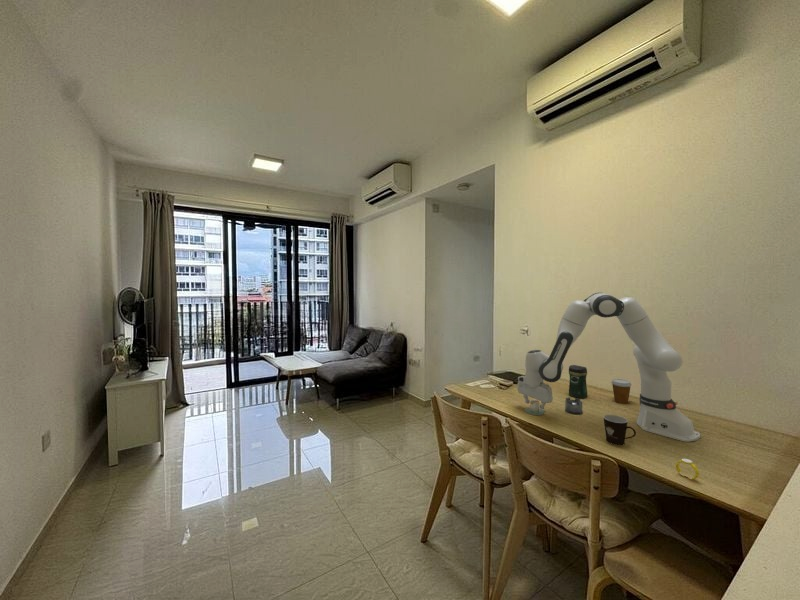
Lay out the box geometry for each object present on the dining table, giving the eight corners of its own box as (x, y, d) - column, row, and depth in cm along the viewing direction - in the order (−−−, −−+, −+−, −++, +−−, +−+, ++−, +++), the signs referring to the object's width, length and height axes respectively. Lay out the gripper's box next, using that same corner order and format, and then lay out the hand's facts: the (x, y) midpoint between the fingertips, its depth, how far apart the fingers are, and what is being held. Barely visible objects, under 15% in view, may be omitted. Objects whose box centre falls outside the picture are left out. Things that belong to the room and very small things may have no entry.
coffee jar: (589, 397, 190) (589, 366, 189) (582, 399, 186) (582, 368, 185) (573, 392, 198) (573, 363, 198) (566, 395, 194) (566, 365, 194)
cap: (534, 413, 167) (534, 403, 167) (528, 410, 171) (527, 401, 170) (541, 411, 169) (541, 402, 169) (534, 408, 173) (534, 399, 173)
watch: (675, 474, 112) (673, 457, 112) (679, 472, 113) (678, 455, 113) (696, 482, 107) (694, 464, 107) (700, 480, 108) (699, 462, 108)
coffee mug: (599, 437, 140) (599, 414, 140) (618, 436, 140) (618, 414, 139) (616, 450, 128) (616, 426, 128) (637, 450, 128) (637, 426, 128)
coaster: (548, 412, 168) (548, 412, 168) (535, 416, 163) (535, 415, 163) (533, 406, 177) (533, 406, 177) (520, 410, 172) (520, 409, 172)
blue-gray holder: (585, 412, 167) (585, 400, 167) (575, 415, 164) (575, 403, 163) (571, 407, 174) (571, 396, 174) (562, 410, 171) (561, 399, 171)
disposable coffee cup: (634, 402, 180) (634, 381, 180) (627, 406, 175) (627, 384, 174) (615, 397, 188) (615, 377, 188) (608, 401, 183) (608, 380, 182)
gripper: (555, 384, 161) (555, 411, 162) (523, 375, 180) (523, 399, 180) (546, 386, 159) (547, 413, 159) (515, 376, 177) (515, 401, 177)
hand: (534, 405), depth 170 cm, fingers open, 8 cm apart
